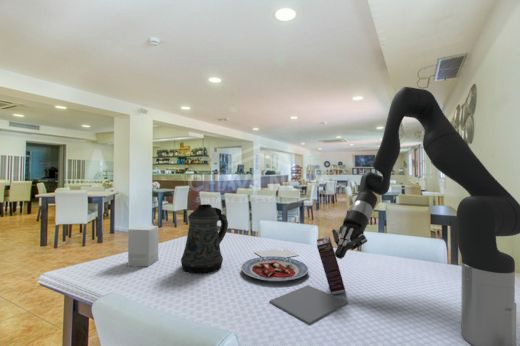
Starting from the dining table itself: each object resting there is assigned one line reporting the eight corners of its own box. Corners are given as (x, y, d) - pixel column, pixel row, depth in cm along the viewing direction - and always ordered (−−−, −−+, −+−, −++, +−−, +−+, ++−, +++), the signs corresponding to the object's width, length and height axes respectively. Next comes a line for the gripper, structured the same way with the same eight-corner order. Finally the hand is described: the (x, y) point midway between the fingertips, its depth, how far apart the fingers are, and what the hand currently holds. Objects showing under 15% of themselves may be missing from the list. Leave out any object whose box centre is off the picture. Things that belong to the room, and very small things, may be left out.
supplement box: (346, 292, 82) (331, 242, 83) (331, 295, 83) (316, 246, 84) (343, 281, 91) (329, 236, 92) (329, 284, 92) (315, 239, 93)
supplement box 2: (159, 259, 116) (159, 225, 116) (148, 267, 107) (148, 229, 107) (139, 259, 117) (139, 224, 117) (127, 266, 108) (127, 229, 108)
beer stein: (172, 271, 102) (172, 206, 102) (198, 256, 121) (198, 201, 121) (210, 276, 97) (211, 208, 97) (232, 260, 116) (232, 203, 116)
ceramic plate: (249, 290, 87) (249, 281, 87) (235, 264, 112) (235, 257, 112) (320, 282, 94) (320, 273, 94) (292, 259, 119) (292, 252, 119)
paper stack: (244, 248, 136) (245, 247, 136) (285, 242, 148) (285, 241, 148) (267, 261, 116) (267, 260, 116) (313, 254, 127) (313, 252, 127)
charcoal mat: (347, 303, 78) (347, 301, 78) (309, 324, 67) (309, 322, 67) (308, 286, 90) (308, 285, 90) (269, 302, 78) (269, 300, 78)
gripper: (338, 207, 98) (316, 246, 90) (372, 211, 88) (352, 255, 80) (346, 220, 102) (326, 258, 94) (380, 225, 91) (361, 269, 84)
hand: (338, 257), depth 87 cm, fingers closed
